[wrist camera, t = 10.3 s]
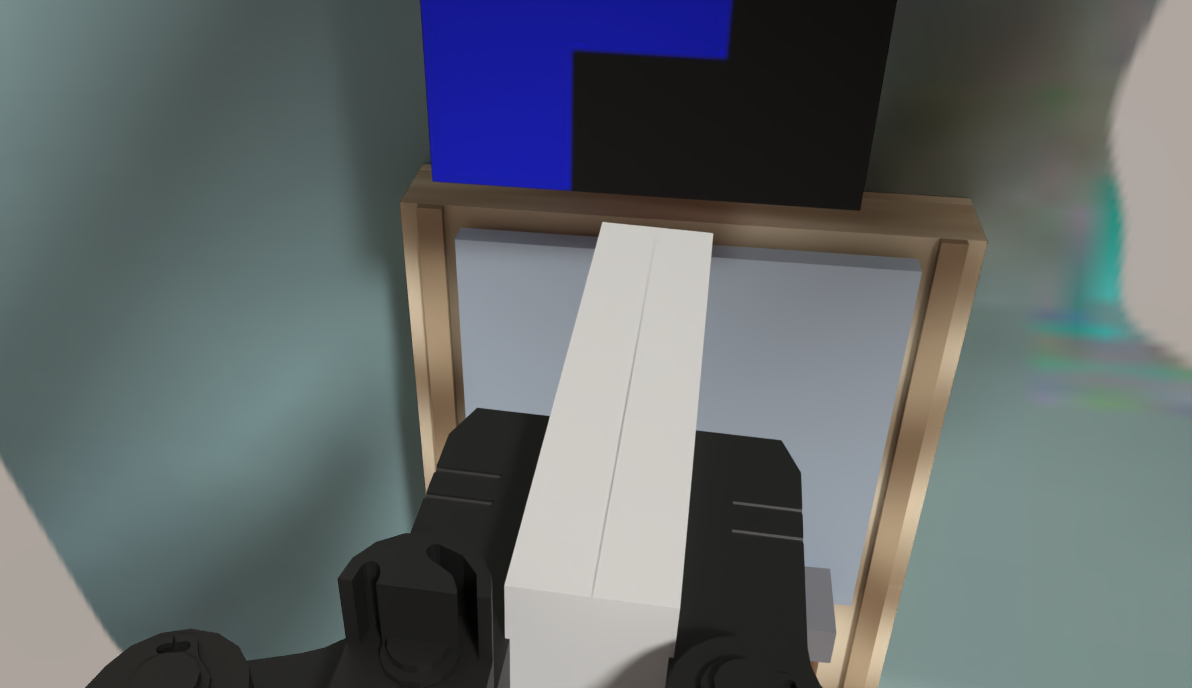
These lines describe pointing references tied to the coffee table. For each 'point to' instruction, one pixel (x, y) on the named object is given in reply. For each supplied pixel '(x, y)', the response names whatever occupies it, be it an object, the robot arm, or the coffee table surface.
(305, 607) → the coffee table surface
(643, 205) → the board
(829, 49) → the puzzle toy
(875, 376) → the lid
